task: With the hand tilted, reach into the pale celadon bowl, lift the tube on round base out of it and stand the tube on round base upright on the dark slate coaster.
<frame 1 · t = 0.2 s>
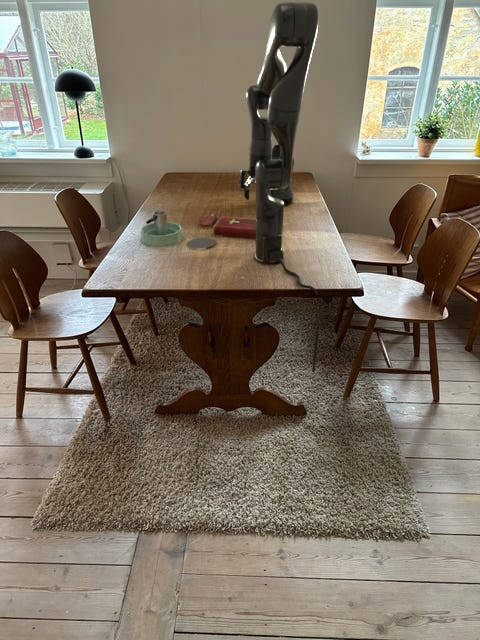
hand: (259, 198, 161), 17 cm above the table, tool pointing down, fingers open, 8 cm apart
bowl: (162, 239, 174), on the table
hardcover book: (243, 233, 180), on the table
coaster: (201, 244, 170), on the table
popsicle: (209, 222, 191), on the table
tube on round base: (162, 238, 174), point 1 cm above the table, touching bowl
beer stein: (276, 200, 216), on the table
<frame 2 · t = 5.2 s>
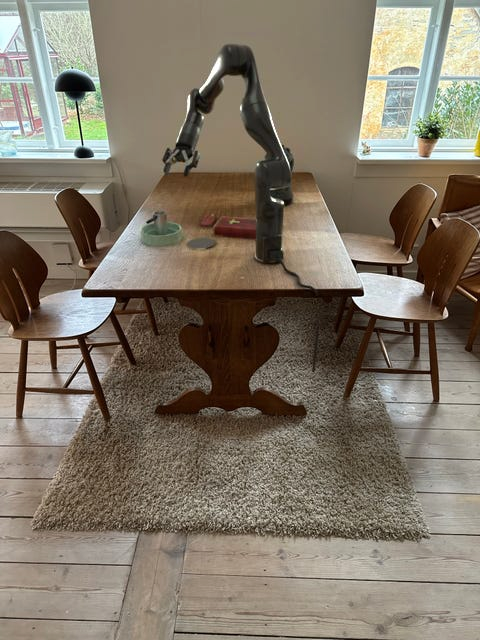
hand: (175, 174, 173), 22 cm above the table, tool tilted 45°, fingers open, 8 cm apart
nothing on the table moved.
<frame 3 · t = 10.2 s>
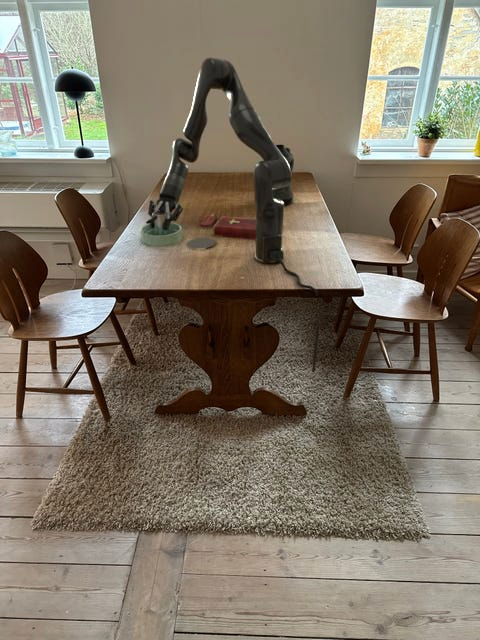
hand: (158, 228, 170), 5 cm above the table, tool tilted 45°, fingers closed on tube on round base, 5 cm apart
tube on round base: (162, 238, 174), point 1 cm above the table, touching bowl, gripper
everything else where it was.
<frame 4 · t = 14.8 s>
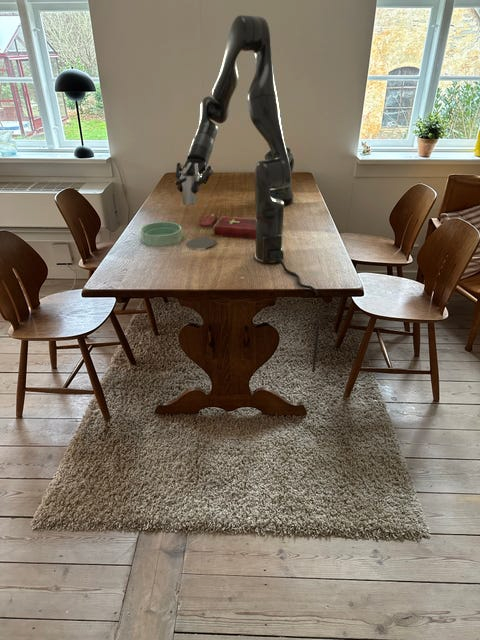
hand: (186, 191, 159), 20 cm above the table, tool tilted 45°, fingers closed on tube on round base, 5 cm apart
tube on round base: (190, 203, 163), point 15 cm above the table, touching gripper
everything else where it was.
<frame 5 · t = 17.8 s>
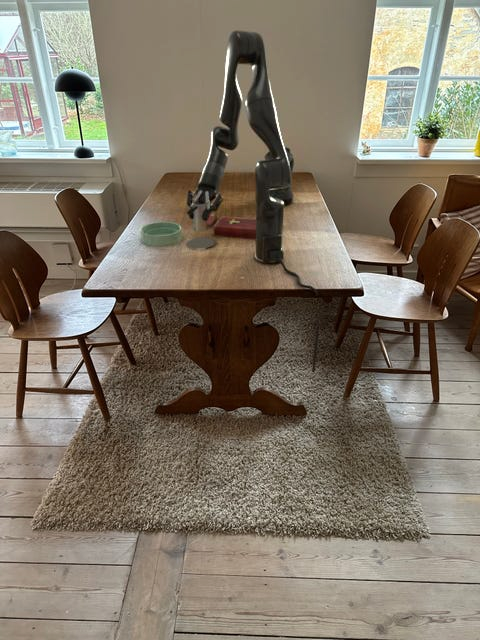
hand: (197, 219, 163), 10 cm above the table, tool tilted 45°, fingers closed on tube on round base, 5 cm apart
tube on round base: (200, 229, 167), point 6 cm above the table, touching gripper
everything else where it was.
when the fingers open (5 cm above the table, at t = 19.7 s): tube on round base stays where it is, resting on coaster.
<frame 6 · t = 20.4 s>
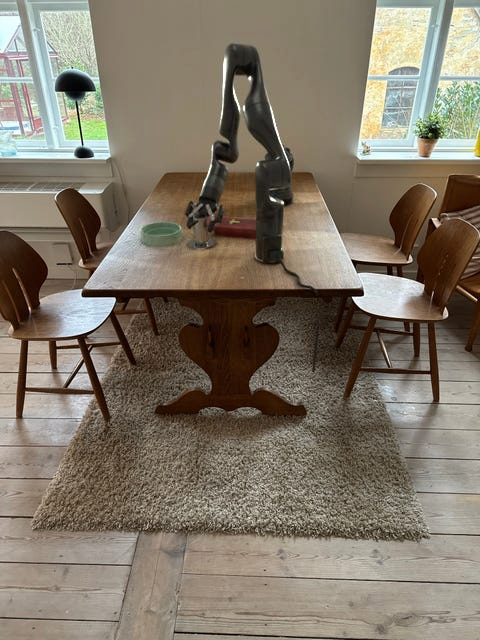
hand: (198, 229, 166), 6 cm above the table, tool tilted 45°, fingers open, 8 cm apart
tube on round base: (201, 242, 170), point 1 cm above the table, touching coaster
everything else where it was.
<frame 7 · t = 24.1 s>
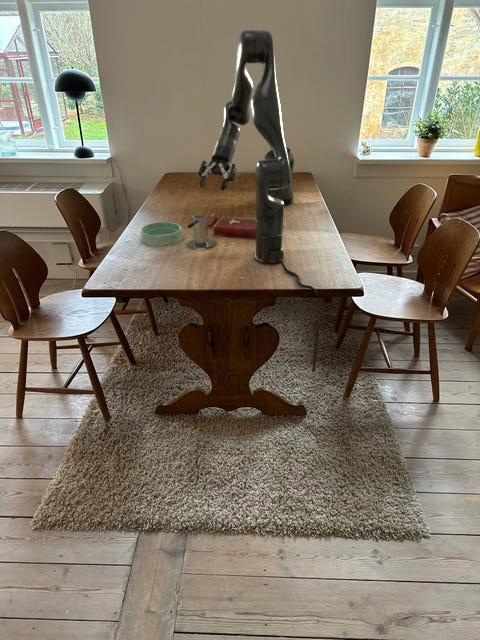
hand: (211, 188, 170), 18 cm above the table, tool tilted 45°, fingers open, 8 cm apart
nothing on the table moved.
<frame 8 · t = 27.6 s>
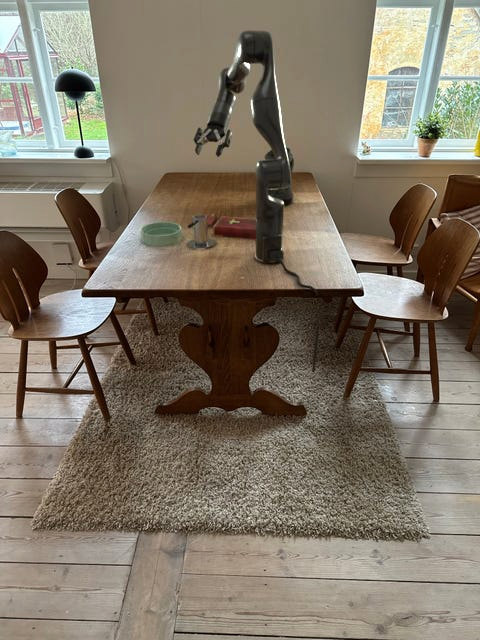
hand: (207, 154, 170), 29 cm above the table, tool tilted 45°, fingers open, 8 cm apart
nothing on the table moved.
at the end: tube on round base 0.2 cm off-centre on the coaster, point 0.6 cm above the coaster's base; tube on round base tilted 0°; the gripper is holding nothing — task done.
